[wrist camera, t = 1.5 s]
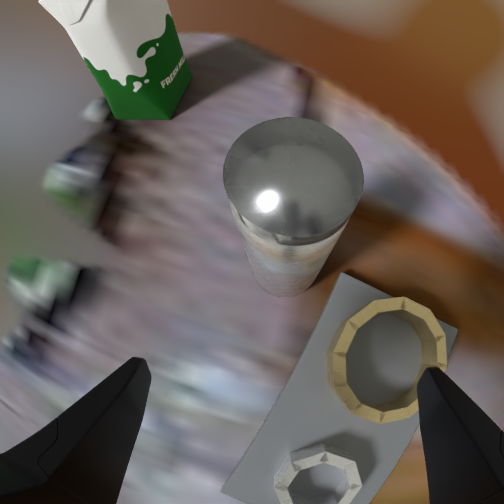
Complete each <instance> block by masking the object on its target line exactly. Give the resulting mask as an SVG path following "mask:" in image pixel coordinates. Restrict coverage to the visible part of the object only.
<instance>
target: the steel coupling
mask: <svg viewBox="0 0 504 504" xmlns="http://www.w3.org/2000/svg"><path fill="white" fill-rule="evenodd" d="M223 182H224V186H225V190H226V193H227V196H228V199H229V202H230V205H231V209H232V212H233V215H234V218H235V221H236V224H237V227H238V230H239V233H240V236H241V239H242V242H243V245H244V248H245V251H246V254H247V257H248V260H249V263H250V266H251V269H252V272H253V275H254V277H255V279H256V281H257V283H258V284H259V285H260V286H261V287H262V288H263V289H264V290H265V291H266V292H268V293H270V294H272V295H274V296H278V297H292V296H296V295H298V294H301V293H302V292H304V291H305V290H307V289H308V288H309V287H310V286H311V285H312V283H313V282H314V280H315V278H316V277H317V275H318V273H319V272H320V270H321V268H322V267H323V265H324V263H325V261H326V260H327V258H328V256H329V255H330V253H331V251H332V249H333V248H334V246H335V244H336V242H337V241H338V239H339V237H340V235H341V233H342V232H343V230H344V228H345V226H346V224H347V223H348V221H349V219H350V217H351V215H352V213H353V212H354V210H355V208H356V206H357V204H358V202H359V200H360V198H361V194H362V191H363V184H364V175H363V169H362V165H361V162H360V159H359V157H358V155H357V153H356V152H355V150H354V149H353V147H352V146H351V145H350V143H349V142H348V141H347V140H346V139H345V138H344V137H343V136H342V135H340V134H339V133H338V132H336V131H335V130H333V129H332V128H330V127H328V126H326V125H324V124H322V123H319V122H316V121H313V120H309V119H304V118H296V117H285V118H277V119H272V120H268V121H265V122H262V123H260V124H257V125H255V126H254V127H252V128H250V129H248V130H247V131H246V132H244V133H243V134H242V135H241V136H240V137H239V138H238V139H237V140H236V141H235V142H234V144H233V145H232V146H231V148H230V150H229V152H228V154H227V156H226V159H225V163H224V167H223Z"/></svg>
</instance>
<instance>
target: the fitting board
mask: <svg viewBox="0 0 504 504" xmlns="http://www.w3.org/2000/svg"><path fill="white" fill-rule="evenodd" d="M389 298H394V297H392V296H390V295H388V294H386V293H384V292H382V291H380V290H378V289H376V288H374V287H371V286H369V285H367V284H365V283H363V282H361V281H359V280H357V279H355V278H353V277H351V276H349V275H347V274H344V273H342V272H341V273H340V274H339V275H338V278H337V280H336V282H335V284H334V287H333V289H332V291H331V293H330V295H329V298H328V300H327V302H326V304H325V306H324V308H323V311H322V313H321V315H320V317H319V319H318V321H317V323H316V325H315V327H314V329H313V331H312V333H311V335H310V337H309V339H308V341H307V343H306V345H305V347H304V349H303V351H302V353H301V355H300V357H299V359H298V361H297V363H296V365H295V367H294V369H293V371H292V372H291V374H290V376H289V378H288V380H287V382H286V384H285V385H284V387H283V389H282V391H281V393H280V394H279V396H278V398H277V400H276V402H275V403H274V405H273V407H272V409H271V410H270V412H269V414H268V415H267V417H266V419H265V421H264V422H263V424H262V426H261V427H260V429H259V431H258V432H257V434H256V436H255V437H254V439H253V441H252V442H251V444H250V445H249V447H248V449H247V450H246V452H245V453H244V455H243V456H242V458H241V460H240V461H239V463H238V464H237V466H236V467H235V469H234V470H233V472H232V473H231V475H230V476H229V478H228V479H227V481H226V482H225V484H224V485H223V487H222V489H221V492H222V493H224V494H226V495H229V496H231V497H233V498H235V499H238V500H240V501H242V502H245V503H247V504H280V502H279V499H278V497H277V494H276V492H275V489H274V476H275V474H276V473H277V471H278V470H279V468H280V467H281V465H282V464H283V462H284V461H285V459H286V458H287V456H288V455H289V453H290V452H293V451H296V450H300V449H303V448H306V447H309V446H312V445H315V444H318V443H321V442H322V443H325V444H327V445H330V446H333V447H335V448H338V449H341V450H344V451H347V452H349V453H350V455H351V456H352V458H353V459H354V460H355V462H356V466H357V469H358V473H359V476H360V480H361V483H362V487H361V489H360V490H359V491H358V493H357V494H356V496H355V497H354V498H353V500H352V501H351V502H350V504H369V503H370V502H371V500H372V499H373V497H374V496H375V495H376V493H377V492H378V491H379V489H380V488H381V486H382V485H383V483H384V482H385V480H386V479H387V477H388V476H389V474H390V473H391V471H392V470H393V468H394V467H395V465H396V463H397V462H398V460H399V459H400V457H401V455H402V454H403V452H404V450H405V448H406V447H407V445H408V443H409V441H410V440H411V438H412V436H413V434H414V432H415V431H416V429H417V427H418V425H419V423H420V421H419V410H418V411H417V412H416V413H415V414H414V415H412V416H411V417H409V418H405V419H401V420H397V421H392V422H388V423H383V424H378V423H375V422H373V421H370V420H367V419H365V418H362V417H359V416H357V415H354V414H352V413H351V412H350V411H348V410H347V409H346V408H345V407H344V406H343V405H342V403H341V402H340V400H339V399H338V397H337V396H336V394H335V393H334V391H333V390H332V388H331V387H330V386H329V384H328V383H327V363H326V351H327V348H328V346H329V344H330V342H331V340H332V338H333V336H334V334H335V332H336V330H337V328H338V325H339V323H340V322H342V321H343V320H345V319H346V318H347V317H349V316H350V315H351V314H353V313H354V312H355V311H357V310H358V309H359V308H361V307H362V306H363V305H365V304H367V303H369V302H372V301H374V300H380V299H389ZM436 320H437V321H438V323H439V325H440V326H441V328H442V330H443V331H444V333H445V336H446V353H447V360H448V357H449V354H450V352H451V349H452V346H453V343H454V340H455V337H456V334H457V331H458V329H456V328H454V327H452V326H450V325H448V324H446V323H444V322H442V321H440V320H438V319H436ZM345 358H346V381H347V384H348V385H349V387H350V388H351V390H352V391H353V393H354V394H355V396H356V397H357V399H358V400H360V401H362V402H365V403H367V404H370V405H376V404H381V403H387V402H391V401H395V400H396V399H397V398H398V397H400V396H401V395H402V394H403V393H404V392H406V391H407V390H408V389H409V388H410V387H411V386H412V385H413V383H414V381H415V379H416V376H417V374H418V372H419V369H420V367H421V365H422V356H421V341H420V339H419V337H418V336H417V334H416V333H415V331H414V329H413V328H412V326H411V325H410V323H409V322H407V321H405V320H403V319H401V318H399V317H397V316H395V315H393V314H391V313H387V314H379V315H375V316H373V317H372V318H371V319H370V320H368V321H367V322H366V323H364V324H363V325H362V326H360V327H359V328H358V329H357V331H356V333H355V335H354V337H353V340H352V342H351V344H350V346H349V348H348V350H347V352H346V354H345ZM343 478H344V473H343V469H341V468H338V467H335V466H332V465H329V464H326V463H321V464H318V465H315V466H312V467H309V468H306V469H303V470H299V472H298V473H297V475H296V476H295V478H294V479H293V480H292V482H291V483H290V488H291V491H292V493H294V494H297V495H300V496H303V497H306V498H309V499H315V498H318V497H321V496H324V495H327V494H330V493H333V492H334V491H335V489H336V488H337V486H338V485H339V484H340V482H341V481H342V479H343Z"/></svg>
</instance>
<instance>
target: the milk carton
mask: <svg viewBox="0 0 504 504" xmlns="http://www.w3.org/2000/svg"><path fill="white" fill-rule="evenodd" d="M38 2H39V3H40V4H41V5H42V6H43V7H44V8H45V9H46V10H47V11H48V12H49V13H50V14H52V16H54V18H55V19H57V21H58V22H60V24H62V26H63V27H64V28H65V29H66V31H67V32H68V34H69V36H70V37H71V39H72V41H73V42H74V44H75V46H76V47H77V49H78V51H79V53H80V54H81V56H82V57H83V59H84V61H85V62H86V64H87V66H88V67H89V69H90V71H91V72H92V74H93V76H94V77H95V79H96V81H97V82H98V84H99V86H100V87H101V89H102V91H103V93H104V95H105V97H106V99H107V101H108V104H109V106H110V108H111V110H112V112H113V114H114V116H115V118H116V119H159V120H170V119H171V117H172V115H173V113H174V111H175V109H176V107H177V105H178V103H179V101H180V99H181V98H182V96H183V94H184V92H185V90H186V88H187V86H188V85H189V83H190V81H191V79H192V74H191V72H190V69H189V67H188V64H187V61H186V59H185V56H184V54H183V51H182V48H181V45H180V41H179V38H178V35H177V32H176V29H175V25H174V22H173V19H172V16H171V13H170V9H169V6H168V3H167V0H39V1H38Z"/></svg>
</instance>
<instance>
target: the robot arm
mask: <svg viewBox="0 0 504 504" xmlns="http://www.w3.org/2000/svg"><path fill="white" fill-rule="evenodd" d="M150 384H151V373H150V370H149V368H148V365H147V362H146V360H145V359H143V358H138V357H132V358H130V359H129V360H128V361H127V362H126V363H124V364H123V365H122V366H121V367H119V368H118V369H117V370H116V371H114V372H113V373H112V374H111V375H109V376H108V377H107V378H106V379H104V380H103V381H102V382H101V383H99V384H98V385H97V386H96V387H94V388H93V389H92V390H91V391H89V392H88V393H87V394H86V395H84V396H83V397H82V398H81V399H79V400H78V401H77V402H76V403H74V404H73V405H72V406H71V407H69V408H68V409H67V410H65V411H64V412H63V413H62V414H60V415H59V416H58V418H55V419H54V420H53V421H52V422H50V423H49V424H48V425H46V426H45V427H44V428H42V429H41V430H40V431H38V432H37V433H35V434H34V435H32V436H31V437H29V438H27V439H26V440H24V441H22V442H21V443H19V444H18V445H16V446H14V447H13V448H11V449H9V450H8V451H6V452H4V453H2V454H0V504H116V503H117V499H118V496H119V493H120V489H121V486H122V483H123V479H124V476H125V473H126V470H127V466H128V463H129V460H130V457H131V454H132V451H133V448H134V444H135V441H136V438H137V435H138V432H139V429H140V426H141V423H142V420H143V416H144V411H145V407H146V402H147V397H148V393H149V388H150ZM417 397H418V408H419V421H420V430H421V436H422V442H423V449H424V455H425V462H426V470H427V478H428V487H429V498H430V504H504V432H503V431H502V430H501V429H500V428H499V427H498V426H497V425H496V424H495V423H494V422H493V421H492V420H491V419H490V418H489V417H488V415H487V414H486V413H485V412H484V411H483V410H482V409H481V408H480V407H479V406H478V405H477V404H476V403H475V402H474V401H473V400H472V399H471V398H470V397H469V396H468V395H467V394H466V393H465V392H464V391H463V390H462V389H461V388H460V387H458V386H457V385H456V384H455V383H454V382H453V381H452V380H451V379H450V378H449V377H448V376H447V375H446V374H445V373H444V372H443V371H442V370H441V369H440V368H439V367H428V368H426V369H425V370H424V372H423V374H422V376H421V378H420V379H419V381H418V383H417Z"/></svg>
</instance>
